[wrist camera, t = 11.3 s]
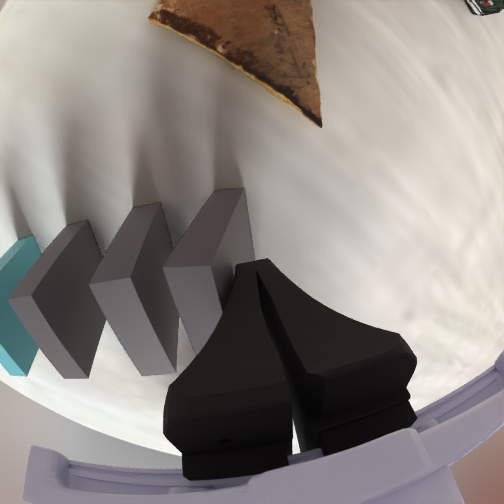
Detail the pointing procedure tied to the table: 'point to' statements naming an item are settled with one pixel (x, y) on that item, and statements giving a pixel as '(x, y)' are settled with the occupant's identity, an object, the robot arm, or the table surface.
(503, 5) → the miniature car
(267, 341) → the robot arm
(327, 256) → the table surface
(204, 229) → the domino
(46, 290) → the domino
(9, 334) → the domino
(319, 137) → the table surface
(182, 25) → the shard
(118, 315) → the domino
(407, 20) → the table surface
